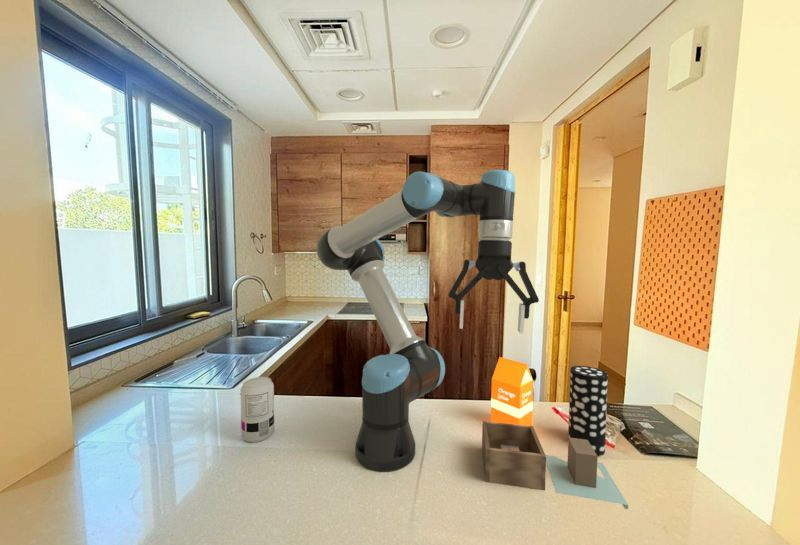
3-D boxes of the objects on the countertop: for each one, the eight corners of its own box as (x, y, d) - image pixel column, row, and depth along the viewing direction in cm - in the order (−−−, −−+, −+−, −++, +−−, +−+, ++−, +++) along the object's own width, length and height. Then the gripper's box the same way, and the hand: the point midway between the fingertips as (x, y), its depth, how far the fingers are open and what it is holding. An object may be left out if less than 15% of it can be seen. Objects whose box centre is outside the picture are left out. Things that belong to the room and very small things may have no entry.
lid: (556, 498, 64) (557, 459, 64) (543, 459, 77) (544, 426, 77) (628, 511, 61) (629, 470, 61) (602, 468, 74) (603, 434, 74)
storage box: (485, 485, 67) (486, 449, 67) (481, 451, 79) (482, 420, 79) (544, 493, 65) (546, 456, 65) (532, 457, 77) (533, 426, 76)
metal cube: (502, 472, 70) (502, 454, 70) (500, 460, 74) (500, 444, 74) (521, 474, 70) (521, 457, 70) (517, 462, 74) (518, 446, 73)
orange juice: (518, 440, 84) (520, 367, 83) (490, 426, 91) (491, 359, 90) (532, 430, 89) (534, 361, 88) (504, 418, 96) (505, 354, 95)
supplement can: (234, 439, 83) (233, 384, 83) (259, 424, 91) (258, 374, 90) (257, 446, 80) (256, 389, 80) (280, 430, 88) (280, 378, 87)
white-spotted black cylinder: (610, 458, 77) (614, 378, 76) (574, 453, 79) (576, 375, 78) (596, 439, 85) (599, 367, 84) (563, 435, 87) (566, 364, 86)
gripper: (440, 237, 71) (436, 329, 73) (557, 240, 67) (551, 338, 68) (442, 239, 79) (438, 322, 80) (547, 241, 74) (542, 329, 75)
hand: (490, 329), depth 74 cm, fingers open, 13 cm apart
